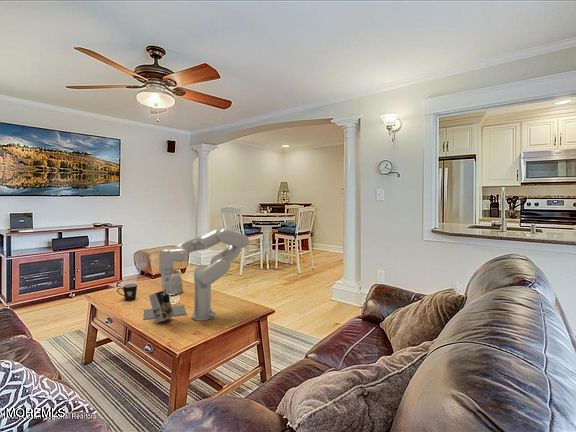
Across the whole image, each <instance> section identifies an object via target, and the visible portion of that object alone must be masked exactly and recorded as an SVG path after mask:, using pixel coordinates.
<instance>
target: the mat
mask: <svg viewBox="0 0 576 432" xmlns="http://www.w3.org/2000/svg"><path fill="white" fill-rule="evenodd" d="M171 306H172V309H173V313H174V316H173V317H179V316H187V315H188V314H187V310H186V307H185V305H184V304H183V305H171ZM146 320H155V317H154V313H153V309H152V308H145V309H143V321H146Z"/></svg>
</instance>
